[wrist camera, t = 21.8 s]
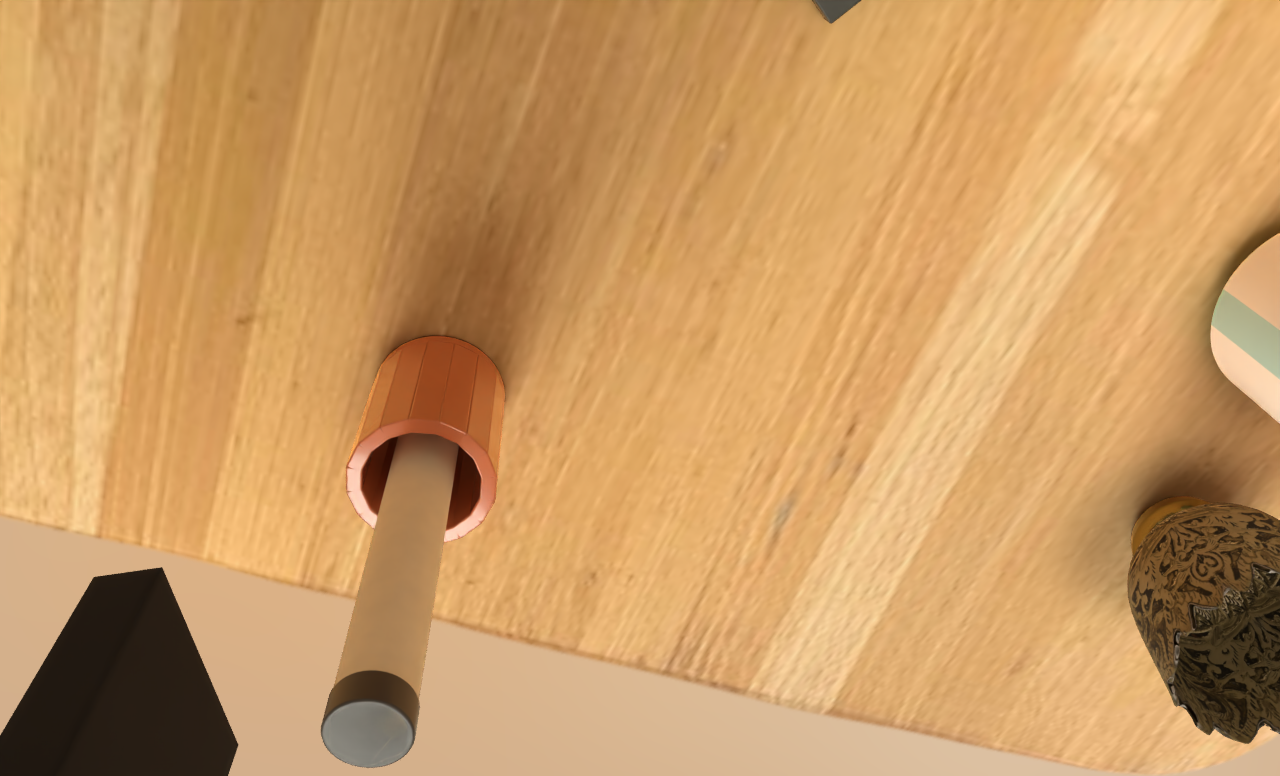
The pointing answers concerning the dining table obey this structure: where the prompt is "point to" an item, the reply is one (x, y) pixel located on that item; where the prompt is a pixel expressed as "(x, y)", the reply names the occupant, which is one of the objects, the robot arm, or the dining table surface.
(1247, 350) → the can
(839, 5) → the slate
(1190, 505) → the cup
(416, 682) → the marker
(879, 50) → the dining table surface
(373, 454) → the pen pot
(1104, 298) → the dining table surface
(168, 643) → the robot arm
